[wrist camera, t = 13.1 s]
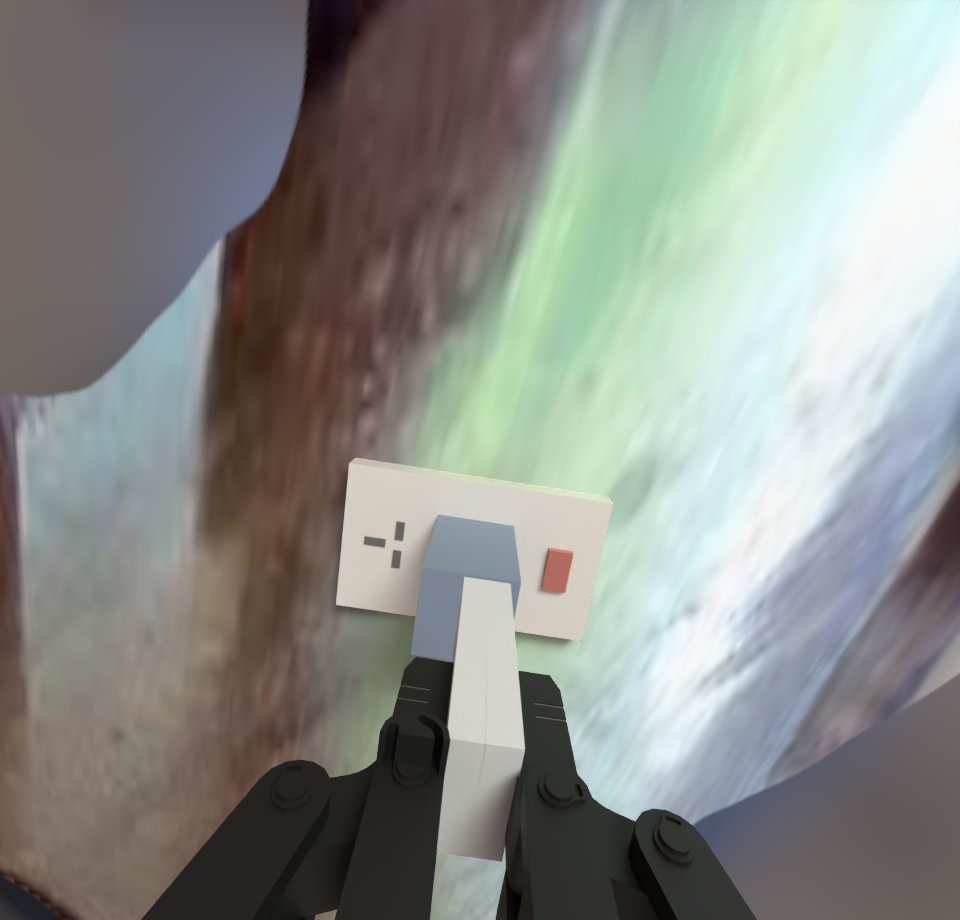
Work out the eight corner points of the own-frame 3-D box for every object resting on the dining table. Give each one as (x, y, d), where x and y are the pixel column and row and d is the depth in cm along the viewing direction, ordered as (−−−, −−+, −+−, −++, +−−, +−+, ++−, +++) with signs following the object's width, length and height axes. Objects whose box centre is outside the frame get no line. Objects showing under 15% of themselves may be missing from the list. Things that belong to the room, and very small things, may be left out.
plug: (512, 517, 43) (521, 582, 31) (500, 583, 44) (504, 668, 32) (440, 506, 43) (422, 567, 31) (431, 573, 44) (410, 654, 32)
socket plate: (607, 496, 42) (614, 505, 40) (577, 628, 45) (582, 645, 43) (355, 457, 42) (347, 464, 39) (342, 593, 45) (333, 608, 42)
